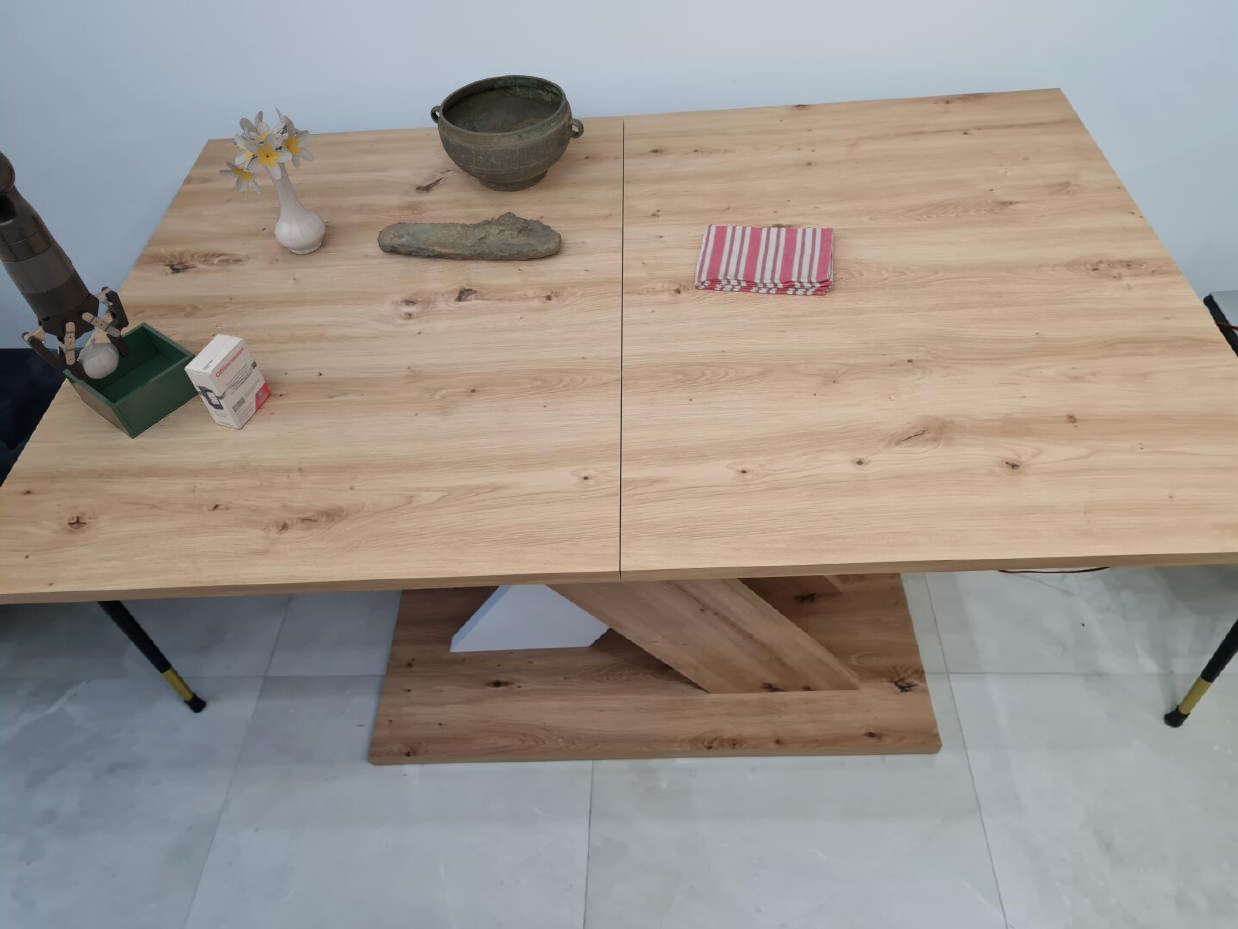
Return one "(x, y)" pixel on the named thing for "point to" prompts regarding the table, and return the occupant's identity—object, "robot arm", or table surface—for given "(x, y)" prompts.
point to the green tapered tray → (140, 382)
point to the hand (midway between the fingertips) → (104, 366)
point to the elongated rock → (473, 239)
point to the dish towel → (766, 260)
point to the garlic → (99, 359)
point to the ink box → (228, 380)
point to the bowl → (506, 129)
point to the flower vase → (278, 178)
